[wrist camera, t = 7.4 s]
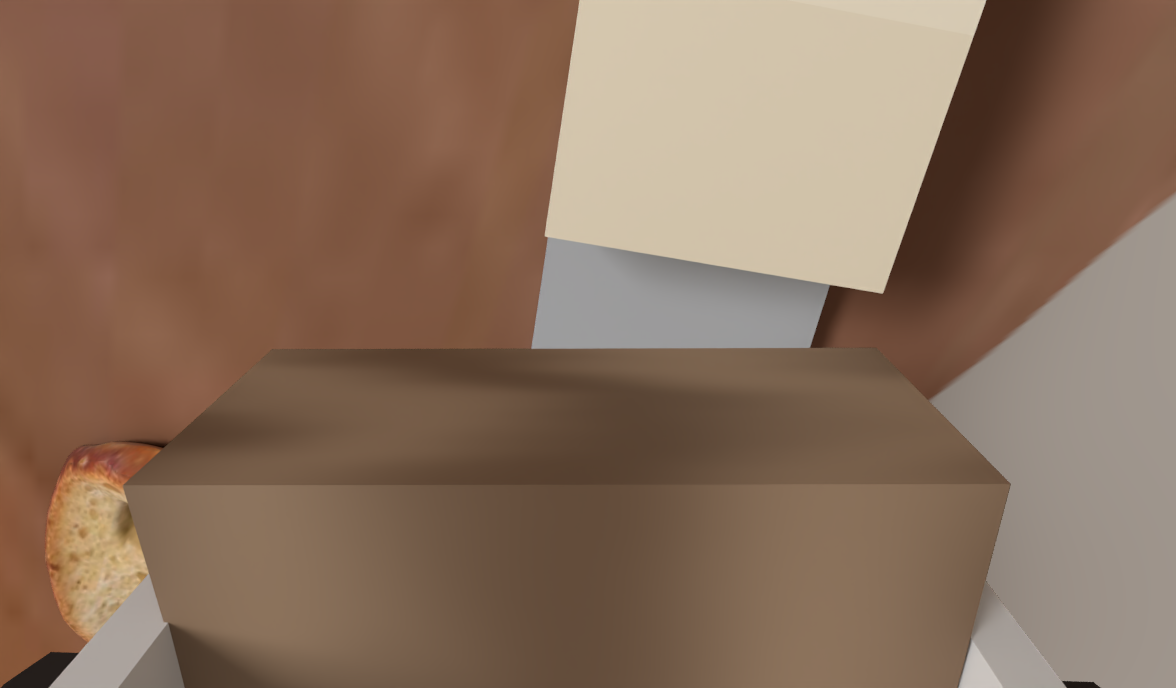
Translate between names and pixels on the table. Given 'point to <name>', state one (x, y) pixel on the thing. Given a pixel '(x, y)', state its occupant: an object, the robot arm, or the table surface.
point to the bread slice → (94, 534)
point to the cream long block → (738, 164)
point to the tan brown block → (569, 522)
